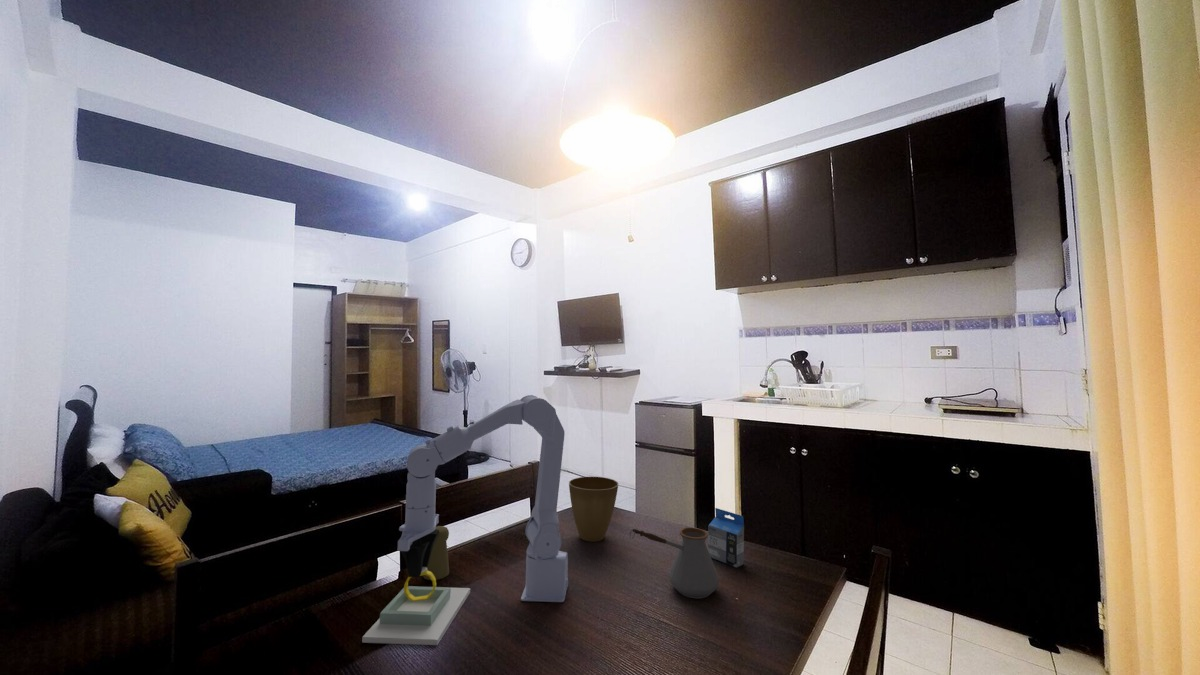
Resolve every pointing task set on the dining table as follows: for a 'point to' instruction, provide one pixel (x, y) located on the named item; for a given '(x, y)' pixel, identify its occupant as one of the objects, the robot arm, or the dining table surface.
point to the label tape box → (726, 538)
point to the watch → (413, 598)
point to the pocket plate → (417, 617)
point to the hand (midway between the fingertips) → (418, 572)
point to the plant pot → (592, 505)
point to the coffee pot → (690, 563)
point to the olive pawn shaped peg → (439, 555)
